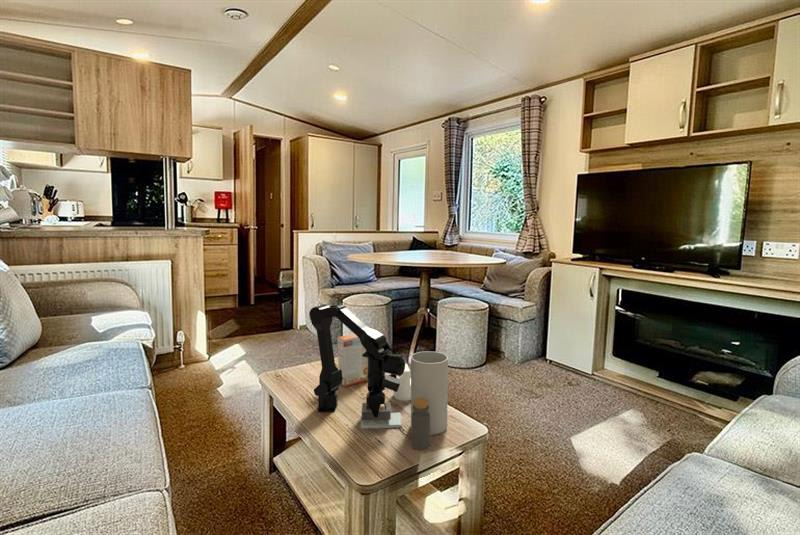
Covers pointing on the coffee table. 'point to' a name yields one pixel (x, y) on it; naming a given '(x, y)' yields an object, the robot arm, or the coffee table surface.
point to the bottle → (420, 425)
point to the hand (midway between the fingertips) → (376, 412)
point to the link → (382, 414)
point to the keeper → (383, 421)
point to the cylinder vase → (431, 386)
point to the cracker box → (352, 360)
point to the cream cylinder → (404, 386)
